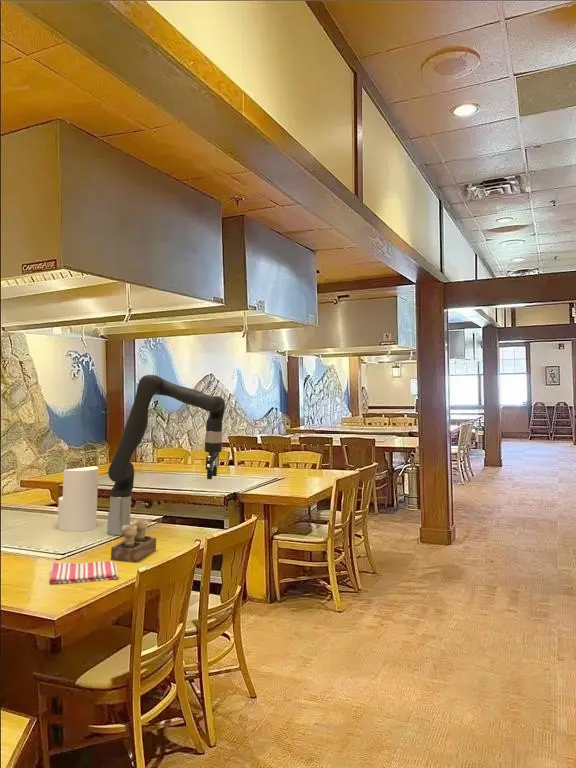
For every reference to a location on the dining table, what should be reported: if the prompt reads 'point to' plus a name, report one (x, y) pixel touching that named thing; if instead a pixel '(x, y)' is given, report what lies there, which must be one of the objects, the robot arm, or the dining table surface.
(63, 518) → the cylinder
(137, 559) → the socket block
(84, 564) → the dish towel
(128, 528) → the peg
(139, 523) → the peg
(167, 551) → the dining table surface
